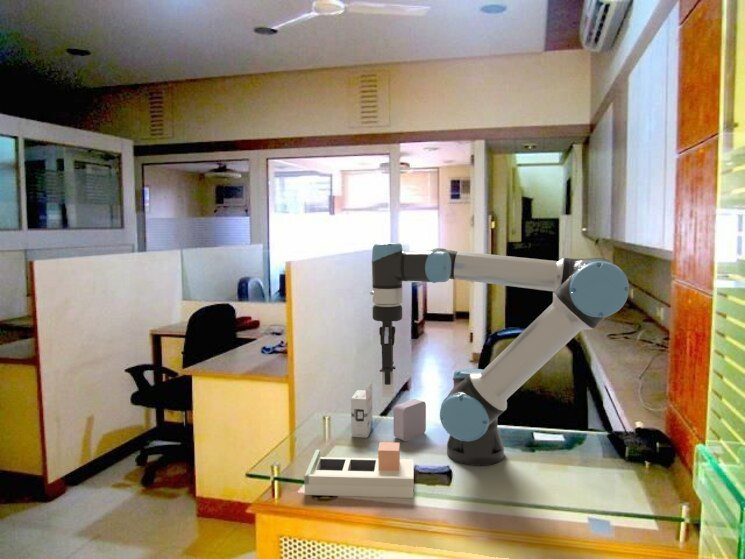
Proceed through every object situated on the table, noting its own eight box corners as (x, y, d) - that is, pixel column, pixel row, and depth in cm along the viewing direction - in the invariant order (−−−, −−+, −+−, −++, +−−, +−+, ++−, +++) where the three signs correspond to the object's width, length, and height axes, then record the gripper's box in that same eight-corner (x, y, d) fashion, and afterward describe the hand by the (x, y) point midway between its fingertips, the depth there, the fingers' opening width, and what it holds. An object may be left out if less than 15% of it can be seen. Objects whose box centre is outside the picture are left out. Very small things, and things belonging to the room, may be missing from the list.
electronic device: (413, 429, 165) (413, 397, 164) (425, 433, 162) (425, 400, 161) (391, 438, 158) (391, 405, 157) (403, 442, 155) (403, 408, 154)
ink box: (357, 426, 168) (356, 379, 166) (373, 427, 167) (372, 380, 165) (350, 437, 159) (350, 388, 158) (367, 438, 158) (366, 388, 157)
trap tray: (413, 468, 138) (413, 451, 138) (413, 497, 123) (413, 478, 123) (316, 466, 140) (316, 449, 140) (304, 494, 125) (304, 476, 125)
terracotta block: (399, 461, 136) (399, 442, 136) (399, 470, 131) (398, 450, 131) (379, 461, 137) (379, 442, 136) (378, 470, 132) (378, 450, 131)
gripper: (374, 300, 144) (375, 387, 146) (370, 308, 131) (371, 403, 133) (402, 300, 143) (403, 388, 145) (401, 308, 130) (401, 404, 132)
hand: (387, 395), depth 139 cm, fingers closed
